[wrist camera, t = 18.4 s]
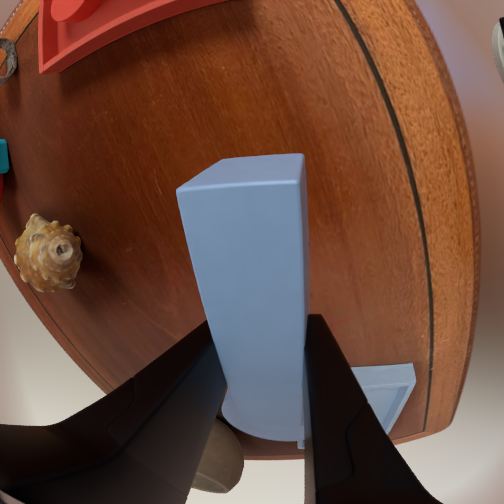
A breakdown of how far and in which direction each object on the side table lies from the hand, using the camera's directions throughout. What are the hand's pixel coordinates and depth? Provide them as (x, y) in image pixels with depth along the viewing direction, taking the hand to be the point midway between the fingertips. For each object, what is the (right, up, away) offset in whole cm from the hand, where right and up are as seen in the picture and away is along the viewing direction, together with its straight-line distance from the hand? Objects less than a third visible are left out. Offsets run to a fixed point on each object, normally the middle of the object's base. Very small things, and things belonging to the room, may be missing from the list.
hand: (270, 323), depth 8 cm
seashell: (-19, +4, +15) cm, 24 cm away
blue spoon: (0, -1, +2) cm, 2 cm away
